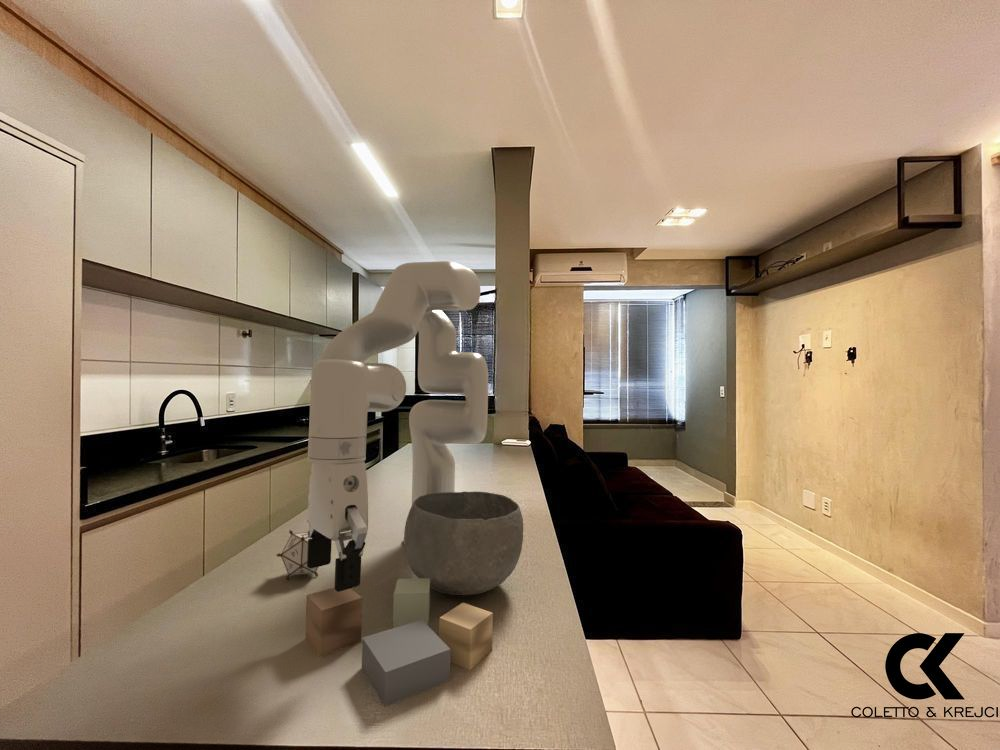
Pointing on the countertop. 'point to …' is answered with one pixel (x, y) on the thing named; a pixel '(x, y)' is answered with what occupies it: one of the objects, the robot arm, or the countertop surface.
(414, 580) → the sage cube
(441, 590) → the bowl
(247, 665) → the countertop surface
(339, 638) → the walnut cube
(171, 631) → the countertop surface
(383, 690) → the base block
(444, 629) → the oak cube
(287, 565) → the game die
